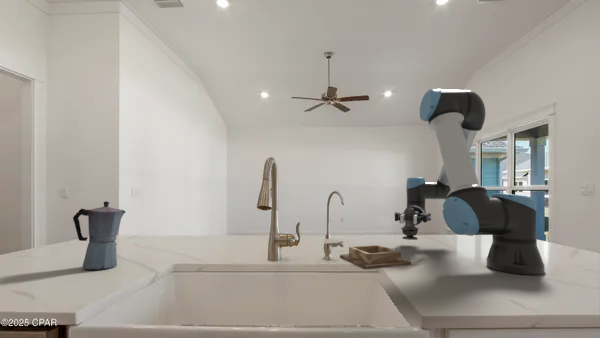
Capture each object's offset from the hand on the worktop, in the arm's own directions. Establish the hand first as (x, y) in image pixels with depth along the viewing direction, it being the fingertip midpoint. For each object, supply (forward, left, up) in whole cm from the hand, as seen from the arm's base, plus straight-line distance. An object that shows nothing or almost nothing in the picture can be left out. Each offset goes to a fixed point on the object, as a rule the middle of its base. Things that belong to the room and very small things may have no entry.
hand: (408, 219), depth 111 cm
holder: (+5, +10, -14) cm, 18 cm away
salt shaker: (+4, -4, -7) cm, 9 cm away
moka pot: (+25, +95, -14) cm, 99 cm away
